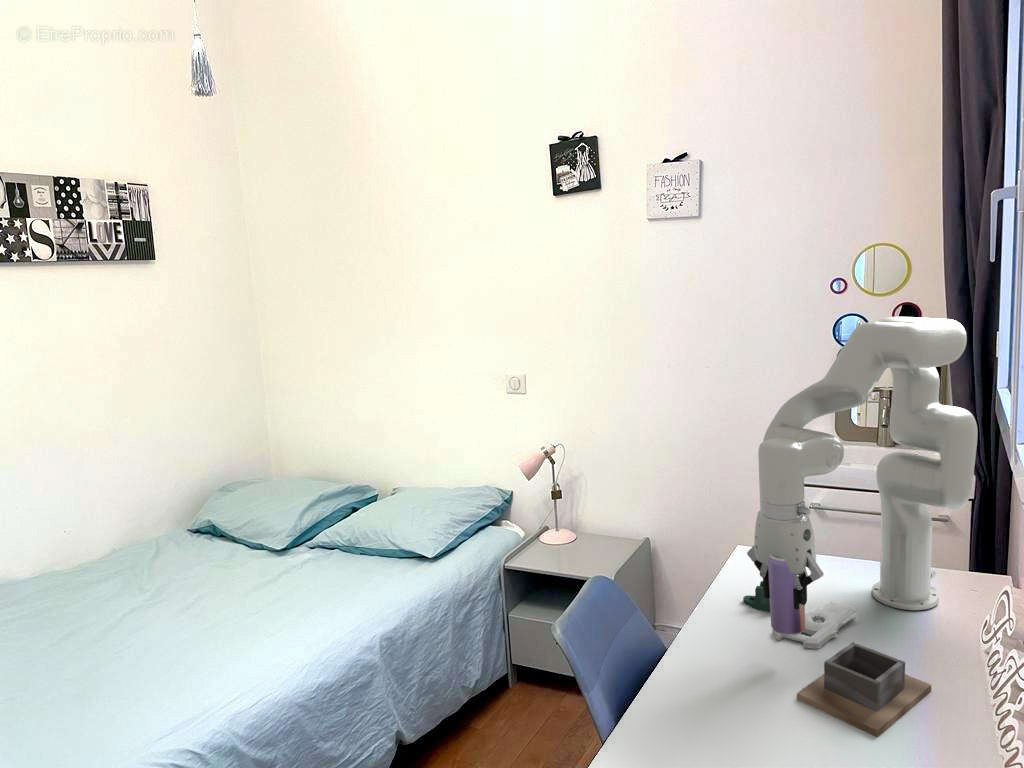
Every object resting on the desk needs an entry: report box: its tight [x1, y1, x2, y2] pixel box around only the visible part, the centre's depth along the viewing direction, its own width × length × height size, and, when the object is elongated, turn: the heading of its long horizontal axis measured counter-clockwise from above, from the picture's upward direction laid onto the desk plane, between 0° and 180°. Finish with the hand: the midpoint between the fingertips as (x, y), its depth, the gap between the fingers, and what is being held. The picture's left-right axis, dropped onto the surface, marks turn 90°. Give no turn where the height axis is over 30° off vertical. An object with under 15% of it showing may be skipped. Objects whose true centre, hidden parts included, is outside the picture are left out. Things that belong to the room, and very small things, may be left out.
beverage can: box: [768, 555, 806, 636], centre depth 140 cm, size 6×6×15 cm
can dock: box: [796, 641, 932, 738], centre depth 131 cm, size 18×14×6 cm
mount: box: [742, 580, 770, 614], centre depth 163 cm, size 11×4×5 cm, turn 53°
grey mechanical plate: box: [771, 600, 858, 650], centre depth 154 cm, size 18×3×10 cm
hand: (784, 600), depth 141 cm, fingers closed on beverage can, 5 cm apart
